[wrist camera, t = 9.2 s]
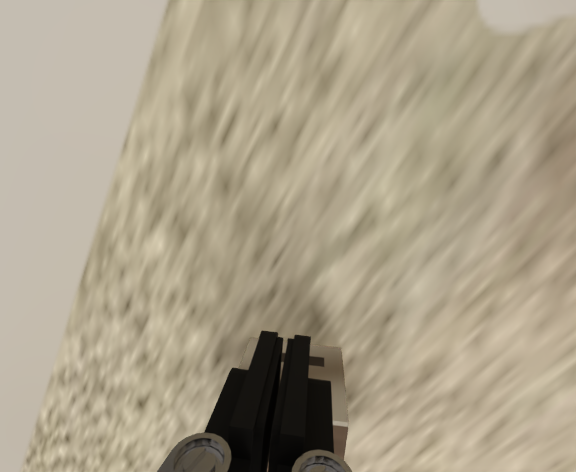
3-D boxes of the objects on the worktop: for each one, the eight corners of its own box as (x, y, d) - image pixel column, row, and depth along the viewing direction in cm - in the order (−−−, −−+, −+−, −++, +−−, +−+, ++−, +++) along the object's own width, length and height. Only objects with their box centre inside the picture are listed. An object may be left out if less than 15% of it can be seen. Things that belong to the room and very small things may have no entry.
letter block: (224, 406, 18) (223, 498, 20) (348, 422, 18) (336, 516, 19) (250, 337, 25) (247, 411, 27) (341, 347, 24) (332, 422, 26)
